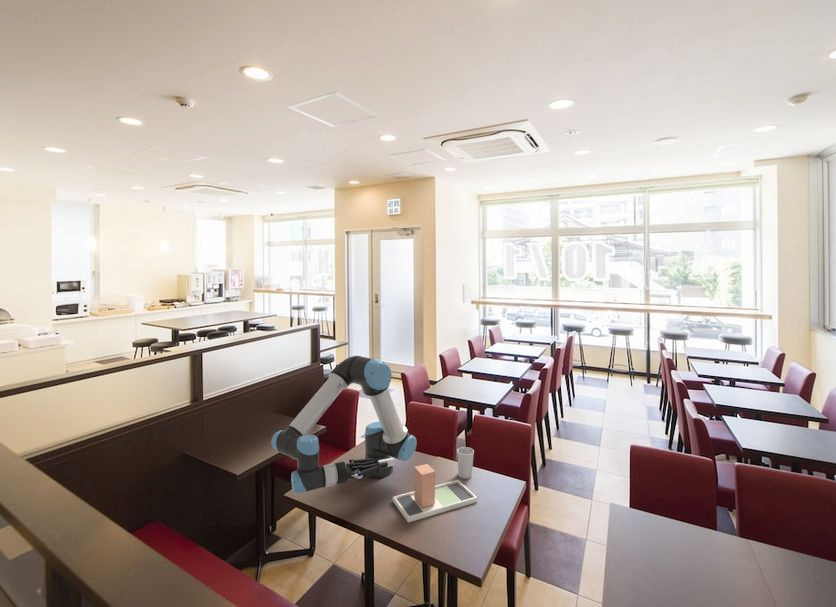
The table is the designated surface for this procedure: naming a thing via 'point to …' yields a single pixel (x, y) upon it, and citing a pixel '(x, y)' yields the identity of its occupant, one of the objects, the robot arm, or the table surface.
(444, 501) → the sorting tray
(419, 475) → the block
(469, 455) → the cup
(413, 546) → the table surface
